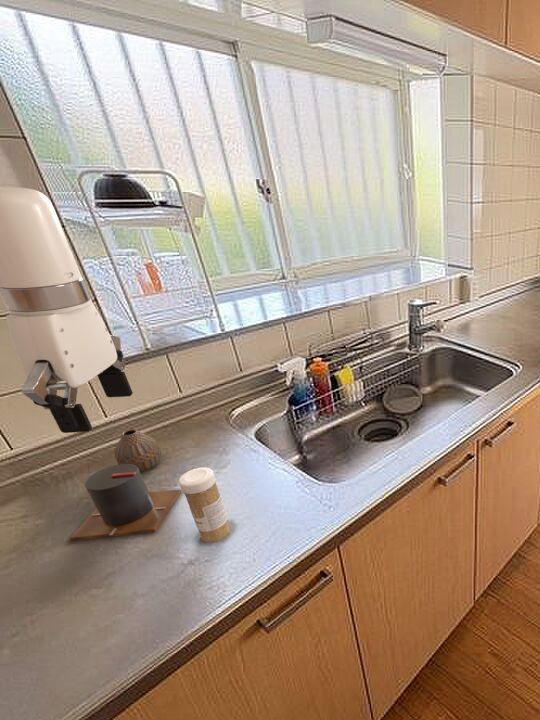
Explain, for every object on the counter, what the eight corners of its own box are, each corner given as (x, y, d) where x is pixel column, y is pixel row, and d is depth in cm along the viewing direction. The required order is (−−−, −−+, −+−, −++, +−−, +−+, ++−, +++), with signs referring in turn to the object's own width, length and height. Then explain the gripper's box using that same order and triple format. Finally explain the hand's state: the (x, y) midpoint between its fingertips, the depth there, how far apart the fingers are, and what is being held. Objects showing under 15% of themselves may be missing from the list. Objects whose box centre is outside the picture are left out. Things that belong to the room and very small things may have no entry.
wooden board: (70, 546, 69) (66, 539, 68) (111, 500, 78) (107, 493, 78) (155, 537, 72) (152, 530, 71) (184, 493, 81) (182, 486, 80)
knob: (94, 528, 71) (73, 490, 67) (118, 500, 77) (100, 464, 73) (141, 523, 72) (123, 486, 68) (161, 496, 78) (145, 460, 74)
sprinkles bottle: (197, 538, 72) (172, 477, 66) (225, 522, 75) (204, 462, 69) (209, 551, 70) (185, 489, 64) (238, 534, 73) (218, 473, 67)
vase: (158, 453, 91) (144, 419, 87) (170, 466, 88) (157, 431, 84) (117, 468, 86) (101, 433, 82) (129, 483, 83) (112, 446, 79)
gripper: (60, 279, 59) (106, 386, 67) (-57, 318, 44) (21, 450, 52) (122, 279, 61) (160, 383, 69) (30, 317, 46) (93, 445, 54)
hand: (100, 412), depth 60 cm, fingers open, 9 cm apart
